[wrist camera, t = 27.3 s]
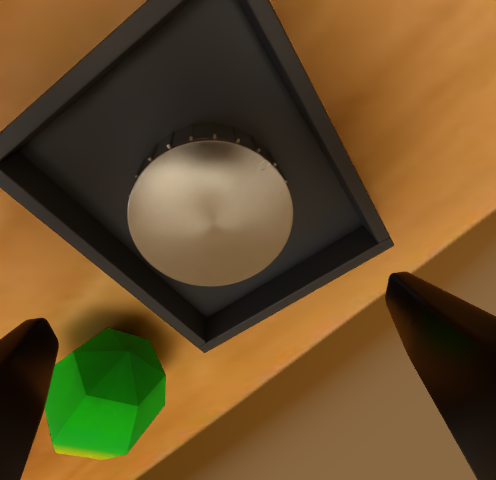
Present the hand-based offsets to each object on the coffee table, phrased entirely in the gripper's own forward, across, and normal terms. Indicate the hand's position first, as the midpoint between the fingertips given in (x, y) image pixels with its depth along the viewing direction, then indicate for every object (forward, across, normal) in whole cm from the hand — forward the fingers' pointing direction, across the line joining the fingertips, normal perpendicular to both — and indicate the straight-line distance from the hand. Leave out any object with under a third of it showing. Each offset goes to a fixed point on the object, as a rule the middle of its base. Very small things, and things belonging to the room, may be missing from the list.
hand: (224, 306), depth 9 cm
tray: (+8, 0, 0) cm, 8 cm away
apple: (+8, +8, +11) cm, 15 cm away
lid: (+5, 0, 0) cm, 5 cm away
